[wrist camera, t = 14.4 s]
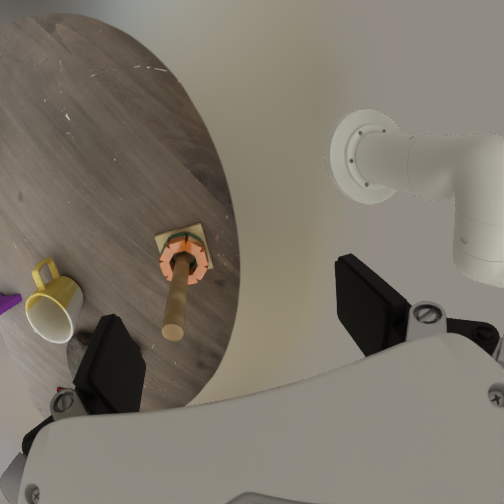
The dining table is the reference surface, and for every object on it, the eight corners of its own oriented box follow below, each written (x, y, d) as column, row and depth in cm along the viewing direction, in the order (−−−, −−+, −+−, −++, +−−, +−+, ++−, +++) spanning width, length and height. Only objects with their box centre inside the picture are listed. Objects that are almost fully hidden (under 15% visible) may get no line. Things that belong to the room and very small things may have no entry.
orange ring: (200, 231, 41) (200, 235, 39) (212, 272, 44) (212, 279, 42) (156, 242, 40) (153, 248, 38) (170, 282, 43) (169, 290, 41)
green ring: (199, 227, 43) (199, 231, 41) (210, 266, 46) (211, 272, 44) (157, 238, 43) (154, 243, 40) (170, 276, 46) (169, 283, 43)
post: (201, 222, 44) (198, 289, 24) (213, 265, 47) (222, 352, 27) (155, 234, 43) (120, 308, 23) (170, 276, 47) (152, 366, 26)
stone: (82, 370, 52) (71, 400, 43) (62, 325, 46) (45, 354, 37) (151, 375, 55) (147, 409, 46) (138, 328, 50) (129, 362, 40)
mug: (95, 314, 47) (78, 347, 37) (55, 309, 45) (34, 339, 35) (85, 250, 42) (60, 276, 32) (42, 248, 40) (14, 272, 30)
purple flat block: (18, 290, 46) (-13, 302, 38) (16, 284, 45) (-15, 296, 38) (24, 307, 41) (-11, 322, 33) (22, 301, 40) (-14, 315, 32)
